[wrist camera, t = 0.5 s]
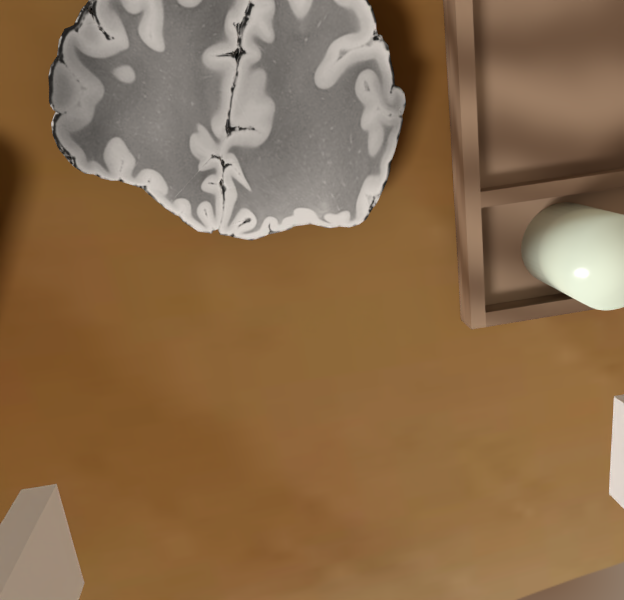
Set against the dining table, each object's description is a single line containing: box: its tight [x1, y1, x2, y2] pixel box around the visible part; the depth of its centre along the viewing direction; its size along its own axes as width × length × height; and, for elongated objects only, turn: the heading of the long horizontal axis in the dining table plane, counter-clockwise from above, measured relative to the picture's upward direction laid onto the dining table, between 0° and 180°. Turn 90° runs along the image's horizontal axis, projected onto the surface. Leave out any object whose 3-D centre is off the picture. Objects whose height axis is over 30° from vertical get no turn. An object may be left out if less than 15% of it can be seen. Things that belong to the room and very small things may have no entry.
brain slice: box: [49, 0, 406, 240], centre depth 34 cm, size 20×17×3 cm
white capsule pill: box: [521, 202, 624, 310], centre depth 37 cm, size 6×6×6 cm
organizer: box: [443, 0, 624, 329], centre depth 37 cm, size 22×14×2 cm, turn 7°
